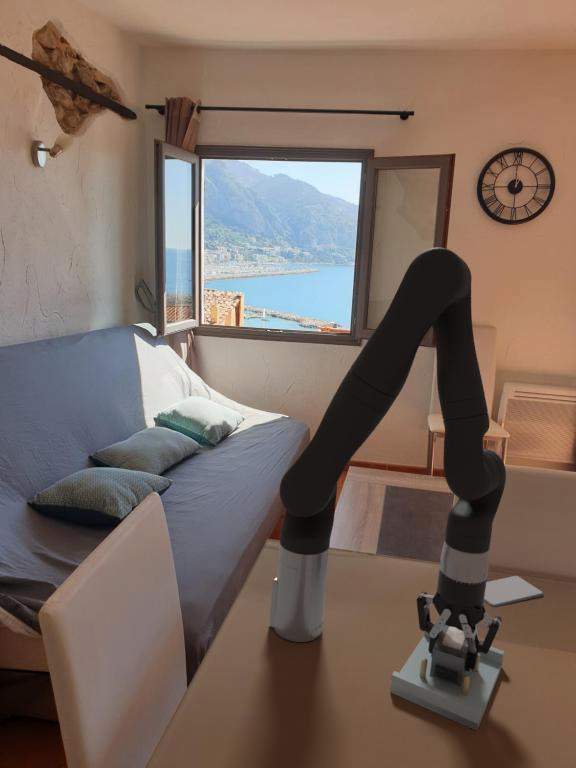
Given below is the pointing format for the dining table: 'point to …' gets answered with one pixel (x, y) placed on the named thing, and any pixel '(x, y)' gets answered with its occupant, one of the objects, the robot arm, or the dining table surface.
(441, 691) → the tray
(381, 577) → the dining table surface
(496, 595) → the smartphone
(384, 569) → the dining table surface
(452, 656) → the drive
